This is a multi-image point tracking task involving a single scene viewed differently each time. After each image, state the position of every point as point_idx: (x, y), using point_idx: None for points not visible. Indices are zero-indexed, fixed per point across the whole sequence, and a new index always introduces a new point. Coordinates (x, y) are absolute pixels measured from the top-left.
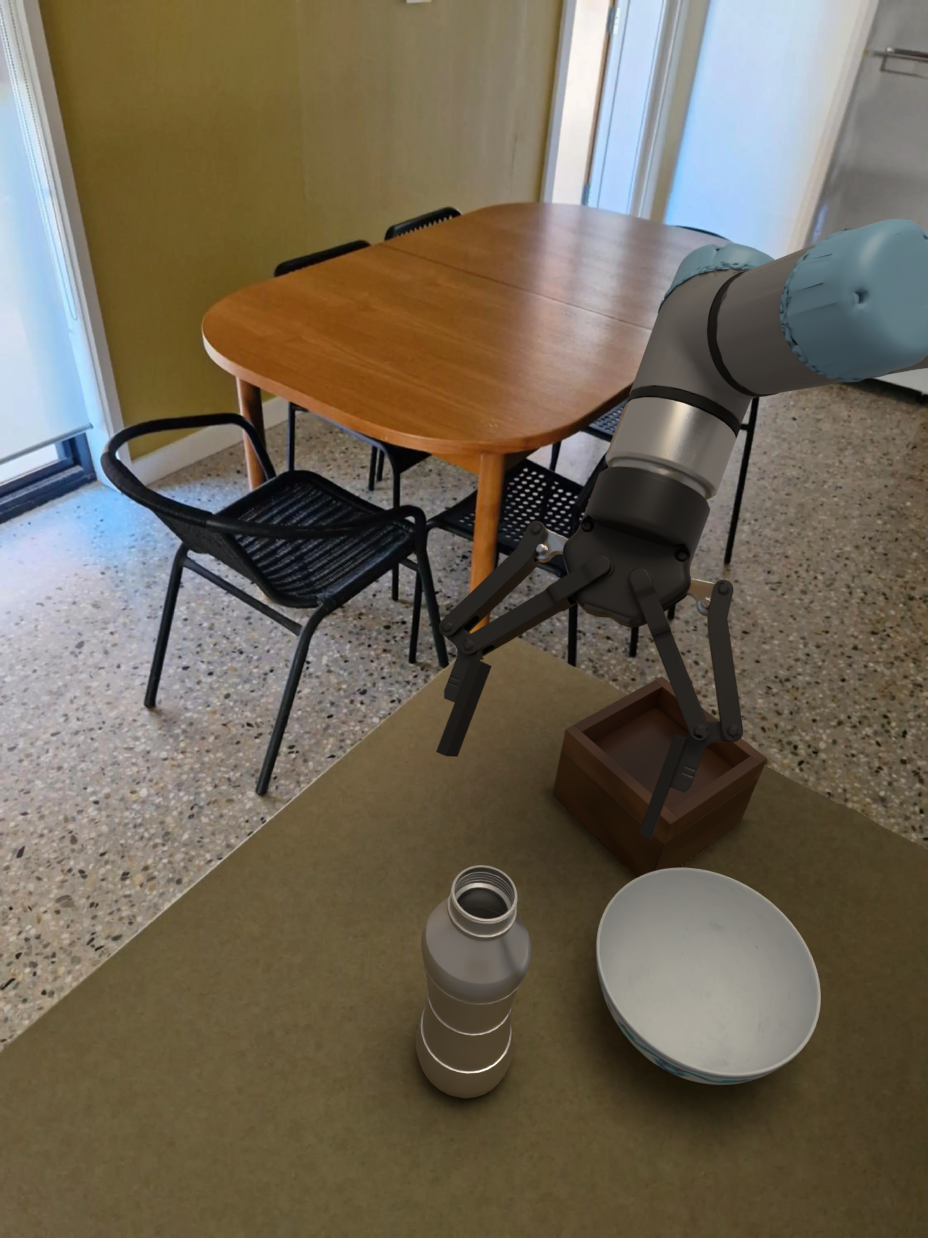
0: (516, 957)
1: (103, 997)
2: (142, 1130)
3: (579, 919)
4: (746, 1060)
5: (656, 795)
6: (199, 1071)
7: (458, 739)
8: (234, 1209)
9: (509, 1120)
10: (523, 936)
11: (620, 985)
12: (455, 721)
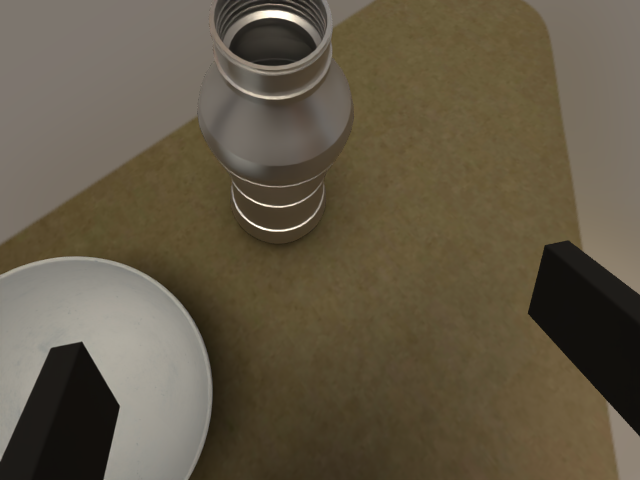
0: (205, 88)
1: (540, 73)
2: (433, 31)
3: (267, 412)
4: (19, 362)
5: (35, 440)
6: (437, 78)
7: (562, 305)
8: (344, 33)
9: (215, 194)
10: (215, 119)
11: (177, 350)
12: (614, 293)
